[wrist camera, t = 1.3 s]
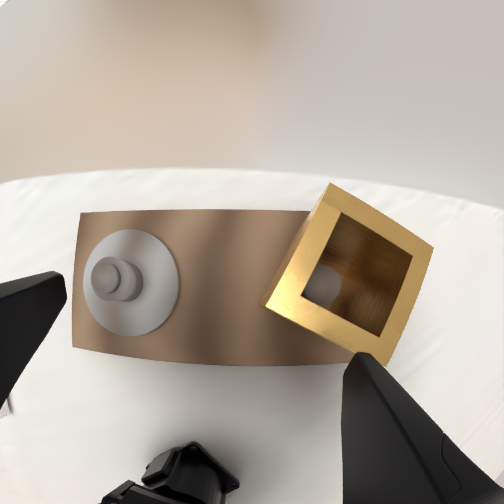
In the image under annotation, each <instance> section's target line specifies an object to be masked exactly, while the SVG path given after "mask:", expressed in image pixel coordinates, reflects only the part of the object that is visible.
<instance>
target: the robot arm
mask: <svg viewBox="0 0 504 504" xmlns="http://www.w3.org/2000/svg"><path fill="white" fill-rule="evenodd" d="M66 300H67V293H66V287H65V281H64V277H63V275H62V274H60V273H58V272H55V271H50V272H45V273H41V274H37V275H33V276H29V277H25V278H21V279H17V280H13V281H9V282H5V283H1V284H0V410H1V408H2V406H3V404H4V402H5V401H6V399H7V397H8V395H9V394H10V392H11V390H12V388H13V387H14V385H15V383H16V382H17V380H18V378H19V377H20V375H21V373H22V372H23V370H24V369H25V367H26V366H27V364H28V362H29V361H30V359H31V358H32V356H33V355H34V353H35V352H36V350H37V349H38V347H39V346H40V344H41V343H42V342H43V340H44V338H45V337H46V335H47V334H48V332H49V330H50V328H51V327H52V325H53V323H54V321H55V320H56V318H57V316H58V315H59V313H60V311H61V310H62V308H63V307H64V305H65V303H66ZM341 436H342V461H343V504H504V488H502V487H500V486H499V485H498V484H496V483H495V482H494V481H493V480H492V479H491V478H490V477H489V476H488V475H487V474H485V473H484V472H483V471H482V470H481V469H480V468H479V467H478V466H477V465H476V464H475V463H473V462H472V461H471V460H470V459H469V458H468V457H467V456H466V455H465V454H464V453H463V452H462V451H461V450H460V449H459V448H458V447H457V446H456V445H455V444H454V443H453V441H452V440H451V439H450V438H449V437H448V436H447V435H446V434H445V433H443V431H442V429H441V428H440V427H439V426H438V425H437V424H436V423H435V422H434V421H433V420H432V419H431V417H430V416H429V415H428V414H427V413H426V412H425V411H424V410H423V409H422V408H421V407H420V406H419V404H418V403H417V402H416V401H415V400H414V399H413V398H412V397H411V396H410V395H409V394H408V393H407V392H406V391H405V389H404V388H403V387H402V386H401V385H400V384H399V383H398V382H397V381H396V380H395V379H394V378H393V377H392V376H391V375H390V373H389V372H388V371H387V370H386V369H385V368H384V367H383V366H382V365H381V364H380V363H379V362H378V361H377V360H376V359H375V358H374V357H373V356H372V355H371V354H370V353H366V352H356V353H355V354H354V356H353V358H352V359H351V361H350V363H349V365H348V366H347V368H346V370H345V372H344V375H343V391H342V412H341ZM191 446H195V447H196V448H195V449H194V448H192V447H191ZM141 482H143V483H144V486H140V485H138V484H135V482H133V481H130V480H127V481H126V482H125V483H123V484H122V485H120V486H119V487H117V488H116V489H115V490H113V491H112V492H110V493H109V494H107V495H106V496H104V497H103V499H102V502H101V503H99V504H225V499H226V494H227V493H229V492H231V491H233V490H235V489H237V488H239V486H240V483H239V481H238V480H237V479H235V478H234V477H233V476H232V475H231V474H230V473H228V472H227V471H226V470H225V469H224V468H223V467H222V466H221V465H220V464H219V463H217V462H216V461H215V460H214V459H213V458H212V457H211V456H210V455H209V454H208V453H207V452H206V451H205V450H204V449H203V448H202V447H201V446H200V445H199V444H198V443H196V442H190V443H189V444H187V445H185V446H183V447H181V448H180V449H178V450H176V449H171V450H169V451H168V452H166V453H164V454H162V455H160V456H158V457H156V458H154V460H153V461H152V463H150V464H148V465H147V467H146V472H145V474H144V475H143V477H142V478H141ZM232 484H236V485H232Z"/></svg>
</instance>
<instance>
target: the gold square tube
mask: <svg viewBox="0 0 504 504" xmlns="http://www.w3.org/2000/svg"><path fill="white" fill-rule="evenodd" d="M433 249H434V248H433V247H432V246H431V245H429V244H428V243H426V242H425V241H423V240H422V239H421V238H419V237H418V236H416V235H415V234H413V233H412V232H410V231H409V230H407V229H406V228H404V227H403V226H401V225H400V224H398V223H397V222H395V221H394V220H392V219H390V218H389V217H387V216H386V215H384V214H383V213H381V212H379V211H378V210H376V209H375V208H373V207H371V206H370V205H368V204H366V203H365V202H363V201H361V200H360V199H358V198H356V197H355V196H353V195H351V194H349V193H348V192H346V191H344V190H342V189H341V188H339V187H337V186H335V185H334V184H332V183H329V185H328V186H327V188H326V189H325V191H324V192H323V194H322V195H321V197H320V199H319V200H318V202H317V203H316V205H315V206H314V208H313V209H312V211H311V212H310V214H309V215H308V217H307V218H306V220H305V221H304V223H303V224H302V226H301V227H300V229H299V230H298V232H297V233H296V235H295V236H294V238H293V240H292V242H291V244H290V246H289V248H288V250H287V251H286V253H285V255H284V257H283V259H282V261H281V263H280V265H279V266H278V268H277V270H276V272H275V274H274V276H273V278H272V279H271V281H270V283H269V285H268V287H267V289H266V290H265V292H264V294H263V296H262V298H261V300H260V301H259V303H258V305H260V306H262V307H264V308H266V309H267V310H269V311H271V312H273V313H275V314H277V315H279V316H281V317H282V318H284V319H286V320H288V321H290V322H292V323H294V324H296V325H298V326H300V327H302V328H304V329H305V330H307V331H309V332H311V333H313V334H315V335H317V336H319V337H321V338H323V339H325V340H327V341H329V342H331V343H334V344H336V345H338V346H340V347H342V348H345V349H347V350H349V351H351V352H353V353H356V352H366V353H370V354H371V355H372V356H373V357H374V358H375V359H376V360H377V361H378V362H379V363H380V364H381V365H383V366H385V367H386V366H387V364H388V362H389V360H390V358H391V356H392V354H393V352H394V350H395V348H396V345H397V343H398V341H399V339H400V337H401V335H402V332H403V330H404V328H405V326H406V323H407V321H408V319H409V316H410V314H411V311H412V309H413V306H414V304H415V301H416V299H417V296H418V294H419V291H420V288H421V285H422V283H423V280H424V277H425V274H426V271H427V268H428V265H429V262H430V259H431V255H432V252H433ZM317 262H319V263H321V264H322V265H324V266H328V267H330V268H332V269H334V270H335V271H336V272H337V273H339V274H340V275H342V276H344V277H345V278H344V280H343V282H342V284H341V289H340V292H339V294H338V296H337V297H336V298H335V299H334V300H333V302H332V304H331V306H330V308H329V310H328V311H327V310H326V309H324V308H322V307H320V306H318V305H316V304H314V303H312V302H311V301H309V300H307V299H305V298H303V297H301V296H300V295H301V293H302V291H303V289H304V287H305V285H306V284H307V282H308V280H309V278H310V276H311V274H312V272H313V270H314V268H315V266H316V264H317Z"/></svg>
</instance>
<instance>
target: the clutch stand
mask: <svg viewBox="0 0 504 504" xmlns="http://www.w3.org/2000/svg"><path fill="white" fill-rule="evenodd" d="M310 212H311V211H283V210H220V209H201V210H140V211H111V212H90V213H81V215H80V221H79V228H78V235H77V243H76V252H75V263H74V275H73V294H72V345H73V347H76V348H81V349H86V350H91V351H97V352H102V353H108V354H114V355H120V356H127V357H134V358H142V359H150V360H159V361H168V362H179V363H191V364H206V365H228V366H297V365H318V364H333V363H345V362H350V361H351V359H352V358H353V356H354V354H355V353H353V352H351V351H349V350H347V349H345V348H342V347H340V346H338V345H336V344H334V343H331V342H329V341H327V340H325V339H323V338H321V337H319V336H317V335H315V334H313V333H311V332H309V331H307V330H305V329H304V328H302V327H300V326H298V325H296V324H294V323H292V322H290V321H288V320H286V319H284V318H282V317H281V316H279V315H277V314H275V313H273V312H271V311H269V310H267V309H266V308H264V307H262V306H260V305H258V303H259V301H260V300H261V298H262V296H263V294H264V292H265V290H266V289H267V287H268V285H269V283H270V281H271V279H272V278H273V276H274V274H275V272H276V270H277V268H278V266H279V265H280V263H281V261H282V259H283V257H284V255H285V253H286V251H287V250H288V248H289V246H290V244H291V242H292V240H293V238H294V236H295V235H296V233H297V232H298V230H299V229H300V227H301V226H302V224H303V223H304V221H305V220H306V218H307V217H308V215H309V214H310ZM344 278H345V277H344V276H342V275H340V274H339V273H337V272H336V271H335V270H334V269H332V268H330V267H328V266H324V265H322V264H321V263H319V262H317V264H316V266H315V268H314V270H313V272H312V274H311V276H310V278H309V280H308V282H307V284H306V285H305V287H304V289H303V291H302V293H301V295H300V296H301V297H303V298H305V299H307V300H309V301H311V302H312V303H314V304H316V305H318V306H320V307H322V308H324V309H326V310H327V311H328V310H329V308H330V306H331V304H332V302H333V300H334V299H335V298H336V297H337V296H338V294H339V292H340V289H341V284H342V282H343V280H344Z"/></svg>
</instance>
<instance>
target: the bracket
mask: <svg viewBox="0 0 504 504" xmlns="http://www.w3.org/2000/svg"><path fill="white" fill-rule="evenodd" d="M8 415H10V412H9V408H8V403H7V399H6V401H5V402H4V404H3V406H2V408H1V410H0V418H3V417H5V416H8Z"/></svg>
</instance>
